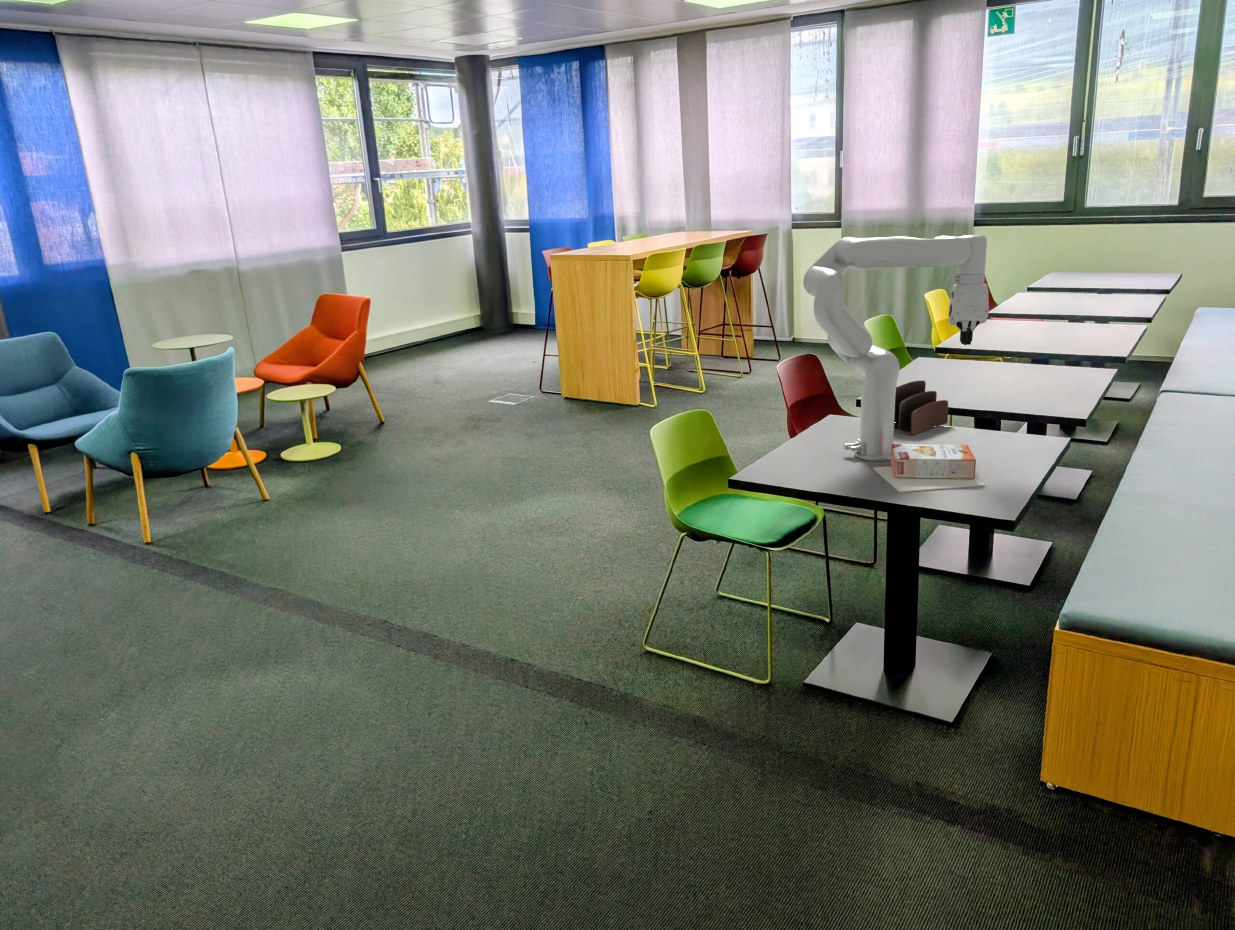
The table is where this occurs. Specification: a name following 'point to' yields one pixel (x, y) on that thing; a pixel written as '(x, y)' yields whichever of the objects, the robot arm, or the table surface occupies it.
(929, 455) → the cracker box
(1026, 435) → the table surface
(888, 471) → the mat
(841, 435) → the table surface
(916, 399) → the letter holder
